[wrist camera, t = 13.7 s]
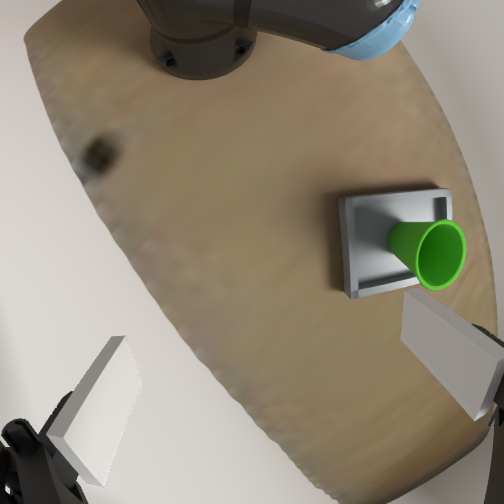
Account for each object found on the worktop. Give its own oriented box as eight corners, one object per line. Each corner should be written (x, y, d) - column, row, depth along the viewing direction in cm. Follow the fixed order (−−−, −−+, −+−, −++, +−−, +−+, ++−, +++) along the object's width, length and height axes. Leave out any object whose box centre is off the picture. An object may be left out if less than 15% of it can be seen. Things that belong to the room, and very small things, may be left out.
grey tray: (337, 197, 40) (344, 198, 37) (440, 187, 40) (450, 188, 37) (344, 291, 43) (351, 299, 40) (440, 269, 43) (450, 274, 40)
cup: (403, 197, 39) (448, 203, 28) (430, 239, 41) (474, 255, 30) (364, 237, 40) (403, 256, 29) (395, 278, 42) (434, 304, 31)
